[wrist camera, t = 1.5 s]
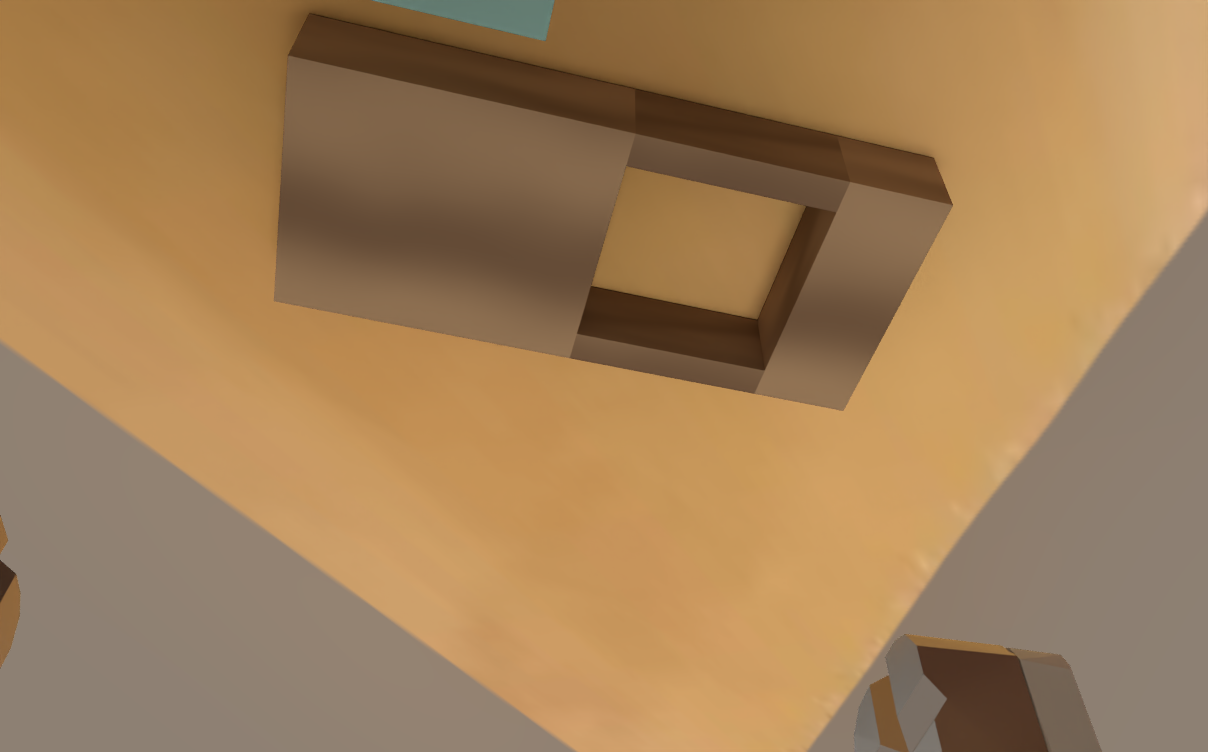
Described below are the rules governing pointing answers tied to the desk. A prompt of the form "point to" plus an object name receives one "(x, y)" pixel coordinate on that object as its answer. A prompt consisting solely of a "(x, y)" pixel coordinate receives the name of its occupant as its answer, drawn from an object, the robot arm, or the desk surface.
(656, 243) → the desk surface
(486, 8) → the teal square prism
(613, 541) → the desk surface
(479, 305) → the brown frame
